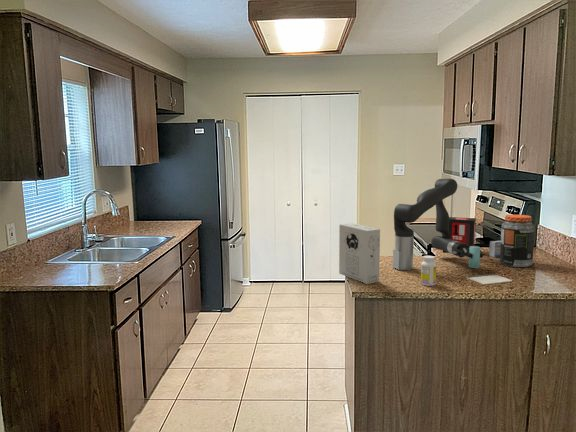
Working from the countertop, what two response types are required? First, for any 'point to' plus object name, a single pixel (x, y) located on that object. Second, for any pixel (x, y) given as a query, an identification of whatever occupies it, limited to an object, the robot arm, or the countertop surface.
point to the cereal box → (359, 252)
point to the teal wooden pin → (474, 257)
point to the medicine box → (494, 248)
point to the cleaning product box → (462, 230)
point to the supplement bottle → (428, 271)
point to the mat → (489, 279)
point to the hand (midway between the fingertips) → (477, 255)
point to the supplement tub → (517, 241)
